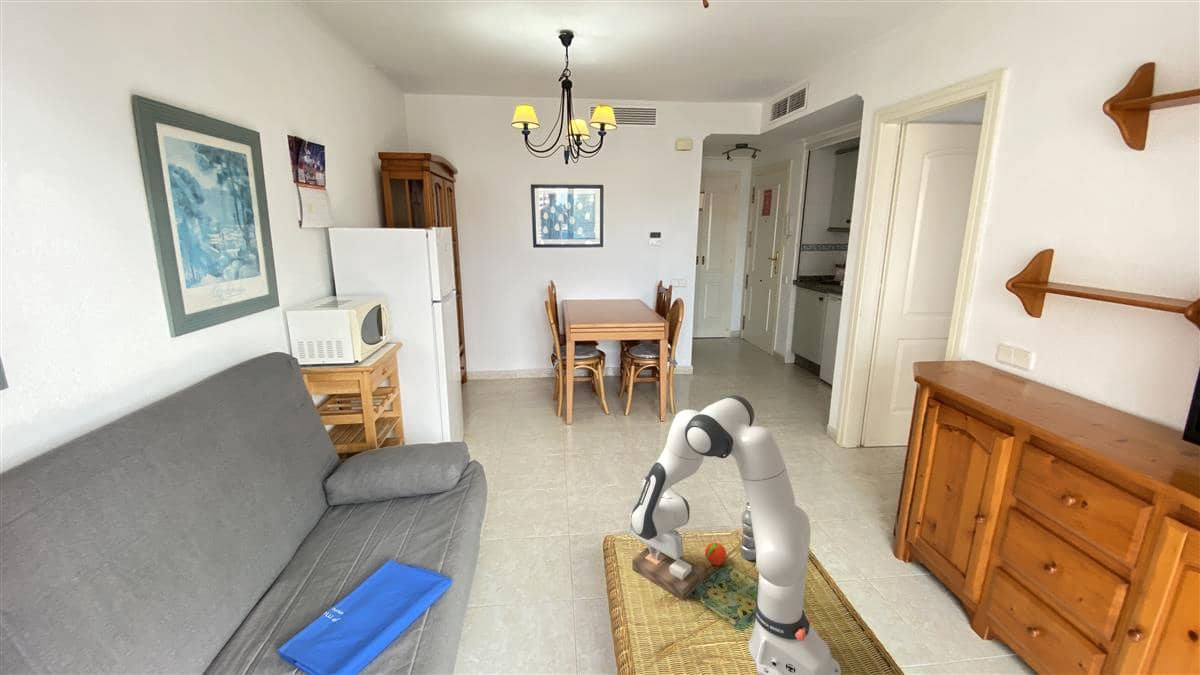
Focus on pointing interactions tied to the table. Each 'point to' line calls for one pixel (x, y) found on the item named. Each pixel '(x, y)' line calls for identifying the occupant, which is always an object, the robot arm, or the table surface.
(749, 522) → the plastic bottle
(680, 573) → the key ivory
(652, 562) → the key terracotta
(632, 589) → the table surface
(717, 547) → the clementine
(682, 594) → the key console
